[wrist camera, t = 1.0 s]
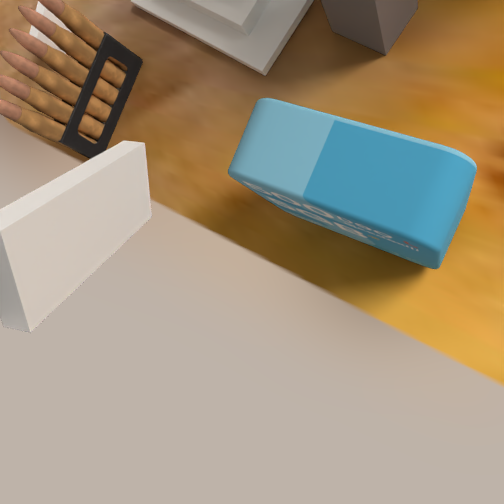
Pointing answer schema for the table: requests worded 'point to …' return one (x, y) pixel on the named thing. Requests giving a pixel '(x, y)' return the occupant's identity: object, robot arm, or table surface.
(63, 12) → the ammunition clip
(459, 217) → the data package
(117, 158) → the robot arm
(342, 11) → the grey upright block
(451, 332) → the table surface
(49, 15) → the eraser
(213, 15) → the dock tray
